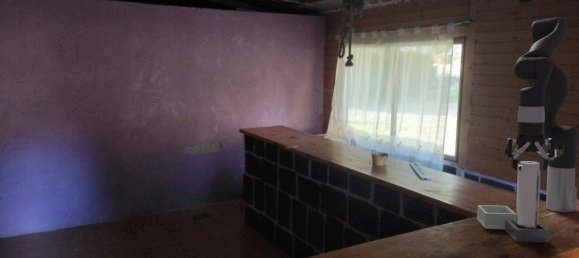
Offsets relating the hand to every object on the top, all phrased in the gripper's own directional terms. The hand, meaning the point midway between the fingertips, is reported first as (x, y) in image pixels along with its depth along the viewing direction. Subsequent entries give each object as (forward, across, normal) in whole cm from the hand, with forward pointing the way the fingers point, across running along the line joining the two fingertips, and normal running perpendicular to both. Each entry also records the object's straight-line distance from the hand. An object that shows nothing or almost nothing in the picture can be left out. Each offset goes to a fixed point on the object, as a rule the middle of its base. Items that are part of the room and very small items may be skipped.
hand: (528, 170), depth 141 cm
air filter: (+23, 0, 0) cm, 23 cm away
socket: (+22, 0, 0) cm, 22 cm away
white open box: (+22, +6, -12) cm, 26 cm away
